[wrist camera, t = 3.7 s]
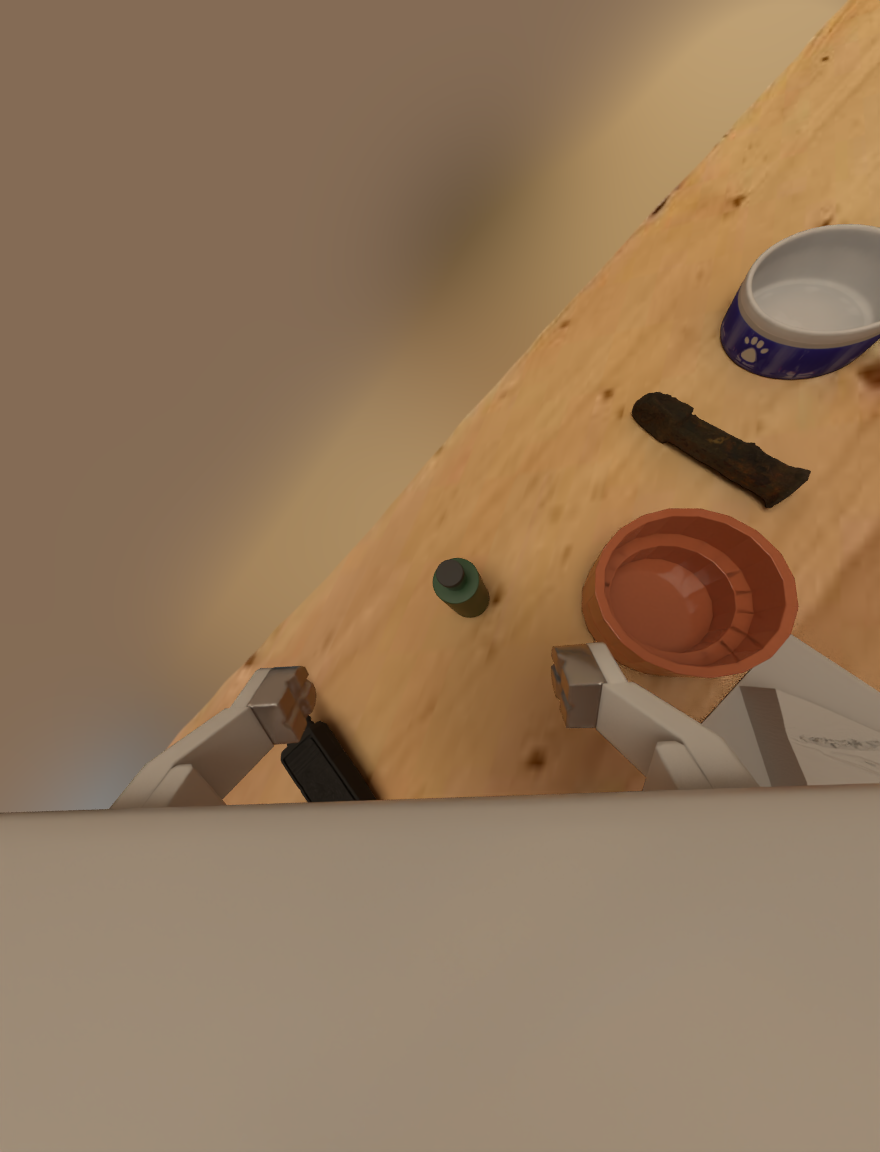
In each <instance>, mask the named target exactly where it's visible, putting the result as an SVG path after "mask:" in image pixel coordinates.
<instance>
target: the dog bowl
mask: <svg viewBox="0 0 880 1152" xmlns="http://www.w3.org/2000/svg"><path fill="white" fill-rule="evenodd" d="M878 339H880V228H879V227H874V226H868V225H859V224H838V225H829V226H823V227H817V228H813V229H809V230H805V231H802V232H799V233H797V234H794V235H792V236H789V237H787V238H785V239H783V240H781V241H779V242H778V243H776V244H774V245H773V246H771V247H770V248H769V249H767V250H766V251H765V252H764V253H763V254H762V255H761V256H760V257H759V258H758V259H757V260H756V261H755V262H754V264H753V265H752V267H751V268H750V270H749V272H748V274H747V275H746V277H745V279H744V281H743V283H742V284H741V286H740V288H739V290H738V292H737V294H736V296H735V298H734V299H733V301H732V303H731V305H730V307H729V309H728V311H727V313H726V315H725V317H724V319H723V322H722V325H721V341H722V345H723V347H724V349H725V351H726V353H727V354H728V356H729V357H730V358H731V359H732V360H733V361H734V362H735V363H736V364H738V365H739V366H741V367H742V368H744V369H746V370H748V371H750V372H752V373H755V374H758V375H761V376H765V377H770V378H777V379H804V378H811V377H817V376H821V375H824V374H827V373H830V372H833V371H836V370H838V369H840V368H842V367H844V366H846V365H848V364H849V363H851V362H852V361H854V360H855V359H856V358H858V357H859V356H860V355H861V354H862V353H863V352H865V351H866V350H867V349H868V348H869V347H870V346H872V345H873V344H874V343H875V342H876V341H877V340H878Z"/></svg>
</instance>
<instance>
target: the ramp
mask: <svg viewBox="0 0 880 1152" xmlns="http://www.w3.org/2000/svg"><path fill="white" fill-rule="evenodd" d="M701 724H702V725H704V726H705V727H707V728H709V729H710V730H712V731H713V732H715V733H717V734H718V735H720V736H721V737H723V738H724V739H725V741H726V742H727V743H728V745H729V746H730V747H731V749H732V750H733V751H734V753H735V754H736V755H737V757H738V758H739V759H740V761H741V762H742V763H743V764H744V766H745V767H746V768H747V770H748V771H749V772H750V774H751V775H752V776H753V778H754V779H755V780H756V782H757V783H758V784H759V786H760V787H778V786H807V785H836V784H864V783H880V692H878V691H877V690H875V689H874V688H872V687H871V686H869V685H868V684H866V683H865V682H863V681H861V680H860V679H858V678H857V677H855V676H854V675H852V674H851V673H849V672H848V671H846V670H845V669H843V668H842V667H840V666H839V665H837V664H835V663H834V662H832V661H831V660H829V659H828V658H826V657H825V656H823V655H822V654H820V653H819V652H817V651H816V650H814V649H813V648H811V647H810V646H808V645H806V644H805V643H803V642H802V641H800V640H799V639H797V638H796V637H794V636H793V635H791V634H790V636H789V638H788V639H787V640H786V641H785V642H784V644H783V645H782V646H781V647H780V648H779V649H778V651H777V652H776V653H775V654H774V655H773V657H771V658H770V659H768V660H766V661H765V662H763V663H761V664H759V665H757V666H755V667H753V668H751V669H750V671H749V672H748V673H747V674H746V675H745V676H744V677H743V678H742V679H741V680H740V682H739V683H738V684H737V685H736V686H735V687H734V688H733V689H732V690H731V691H730V693H729V694H728V695H727V696H726V697H725V698H724V699H723V700H722V701H721V702H720V704H719V705H718V706H717V707H716V708H715V709H714V710H713V711H712V712H711V714H710V715H709V716H708V717H707V718H706V719H705V720H704V721H703V722H702V723H701Z"/></svg>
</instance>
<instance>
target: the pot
mask: <svg viewBox="0 0 880 1152" xmlns="http://www.w3.org/2000/svg"><path fill="white" fill-rule="evenodd" d="M794 579H795V578H794V576H793V575H792V573H791V571H790V569H789V567H788V565H787V564H786V562H785V560H784V558H783V556H782V554H781V553H780V552H779V551H778V550H777V549H776V548H775V547H774V546H773V545H772V544H771V543H770V542H769V541H768V540H767V539H765V538H764V537H763V536H762V535H761V534H760V533H759V532H757V530H755V529H753V528H751V527H749V526H747V525H745V524H744V523H742V522H740V521H738V520H736V519H734V518H732V517H730V516H727V515H723V514H720V513H716V512H712V511H708V510H704V509H672V508H671V509H666V510H662V511H658V512H654V513H650V514H646V515H643V516H641V517H639V518H638V519H636V520H634V521H633V522H631V523H629V524H627V525H626V526H624V527H622V528H621V529H620V530H619V531H618V532H617V533H616V534H615V535H614V536H613V538H612V539H611V540H610V541H609V542H608V543H607V544H606V545H605V547H604V548H603V550H602V552H601V553H600V555H599V557H598V558H597V560H596V562H595V563H594V565H593V567H592V568H591V570H590V572H589V574H588V576H587V579H586V581H585V584H584V586H583V590H582V612H583V615H584V618H585V621H586V624H587V628H588V630H589V632H590V633H591V634H592V636H593V637H594V639H595V640H596V642H603V643H605V644H606V646H607V647H608V649H609V651H610V652H611V654H612V656H613V657H614V659H615V660H617V661H618V662H619V663H621V664H623V665H625V666H627V667H630V668H632V669H635V670H637V671H639V672H642V673H645V674H652V675H660V676H668V677H693V678H715V677H721V676H727V675H733V674H739V673H743V672H746V671H748V670H750V669H751V668H753V667H755V666H757V665H759V664H761V663H763V662H765V661H766V660H768V659H770V658H771V657H773V655H774V654H775V653H776V652H777V651H778V649H779V648H780V647H781V646H782V645H783V644H784V642H785V641H786V640H787V639H788V638H789V636H790V634H791V632H792V628H793V625H794V621H795V618H796V615H797V611H798V600H797V592H796V585H795V580H794Z"/></svg>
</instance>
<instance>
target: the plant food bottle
mask: <svg viewBox="0 0 880 1152" xmlns="http://www.w3.org/2000/svg"><path fill="white" fill-rule="evenodd" d="M433 588H434V591H435V593H436V595H437V596H438V597H439V598H440V599H441V600H442V601H444V602H445V603H446V604H447V605H448V606H450V607H451V608H452V609H453V610H454V611H456V612H457V613H458V614H460V615H461V616H464V617H469V618H471V617H476V616H478V615H480V614H482V613H483V612H484V611H485V609H486V608H487V606H488V603H489V593H488V591H487V589H486V587H485V585H484V583H483V581H482V579H481V577H480V575H479V573H478V571H477V569H476V567H475V566H474V565H473V564H472V563H471V562H469V561H468V560H466V559H462V558H453V559H449V560H445V561H443V562H442V563H441V564H440V565H439V566H438V568H437V570H436V571H435V574H434V577H433Z"/></svg>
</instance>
